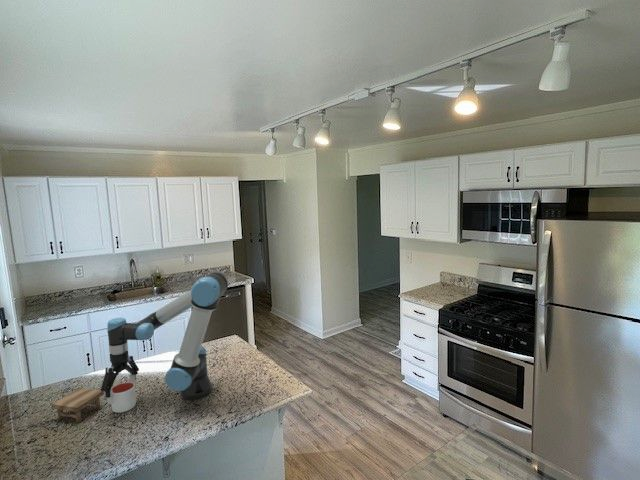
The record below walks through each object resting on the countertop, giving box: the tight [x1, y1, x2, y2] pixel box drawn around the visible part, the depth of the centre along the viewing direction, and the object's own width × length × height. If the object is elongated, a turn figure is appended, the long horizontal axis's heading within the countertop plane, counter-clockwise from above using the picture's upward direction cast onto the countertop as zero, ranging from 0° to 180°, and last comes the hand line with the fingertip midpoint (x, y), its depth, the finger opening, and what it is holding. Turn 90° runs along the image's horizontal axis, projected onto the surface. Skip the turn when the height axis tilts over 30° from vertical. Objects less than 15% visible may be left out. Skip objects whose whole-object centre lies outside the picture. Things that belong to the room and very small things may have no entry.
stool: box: [51, 387, 105, 424], centre depth 161 cm, size 14×14×8 cm
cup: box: [110, 381, 137, 414], centre depth 164 cm, size 10×10×10 cm
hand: (122, 395), depth 164 cm, fingers open, 13 cm apart
